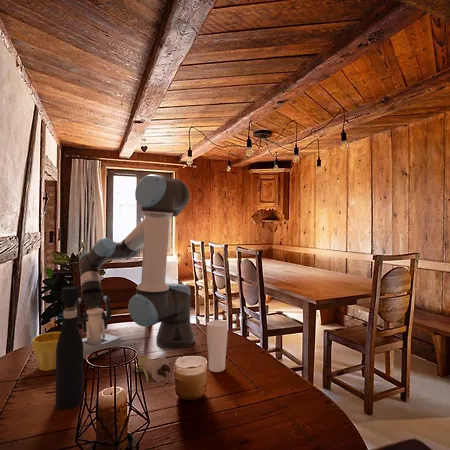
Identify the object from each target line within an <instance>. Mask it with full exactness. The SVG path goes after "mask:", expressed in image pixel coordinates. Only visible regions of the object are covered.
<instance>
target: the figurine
mask: <svg viewBox="0 0 450 450" xmlns="http://www.w3.org/2000/svg"><path fill="white" fill-rule="evenodd" d="M134 357H135V355H133V352H131V353H130V358H131V359H133V358H134ZM136 357H138V365H139V369H140V373H142V372H143V373H144V376H145V381H146V383H149V382H150V379H149V375H151V378H152V380H154V381H156V383H159V382H160V381H163V380H164V379H165V378H166V377H167V375H168V374H170V373H171V372H172V371H171V367H170V365H169V363H170V362H169V360H168V358H166V357H165V356H161V357H159V358H157V359H153V358H149V357H148V356H146V355H144V354H143V353H142V354H140V355H136ZM131 368H132V370H133V371H135V365H134V363H132V362H131ZM136 370H137V371H138V368H137V366H136ZM137 371H136V372H137Z"/></svg>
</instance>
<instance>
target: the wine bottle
mask: <svg viewBox="0 0 450 450" xmlns="http://www.w3.org/2000/svg"><path fill="white" fill-rule="evenodd" d="M79 289H80V288H79V286H76V285H75V286H72V285H70V286H65V287H62V288H61V291H62V292H61V295H62V296H61V302H64V310H63V312H62V313H63V315H62V319H61V331H60V332H61V333H60V336H59V338H58V342H57V347H56V369H55V408H56V409H59V410H63V411H65V410H70V409H74V408H76V407H78V406H80V405H81V404H82V403H81V399H82V395H83V396H84V359H83V341H82V339H83V336H82V334H81V332H80V328H79V324H78V316H77V309H76V300H78V298H79V293H80V291H79ZM80 403H81V404H80Z"/></svg>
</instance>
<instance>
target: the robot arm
mask: <svg viewBox="0 0 450 450" xmlns="http://www.w3.org/2000/svg"><path fill="white" fill-rule="evenodd" d="M190 194H191V193H190V190H189V187H188V185H187V184H186V183H185V182H184V181H183V180H181V179H178V178H173V177H168V176H165V175H161V174H148V175H145V176H143V177H142V178H141V180H139V181H138V183H137V186H136V188H135V193H134V196H135V200H136V201H137V204H138V205H139V206H141V210H140V212H141V213H142V215H144V218H143V220H142V221H141V222H140V223H139V224H137V226H136V227H135V228H134V229H133V230H132V231H131V232H130V233H129V234H127V236H126V237H125V238H124V239H122V241H119V242H117V241H116V242H115V241H114V240H112V239H111V238H108V237H102V238H99V240H98V241H97V242H96V243H95V244H94V246H93V247H92V248H91V249H90V251H85V252H84V253H81V254H80V256H79V259H78V267H79V277H80V289H81V291H80V293H81V294H80V297H78V300H76V307H75V309H77V316H78V325H81V326H82V332H83V333H85V334H86V338H87V341H89V339H90V333H89V322H88V320H87V319H88V314H87V310H89V309H90V307H95V308H102V309H103V313H102V339H105V334H106V330H107V329H108V321H110V320H111V318H112V310H111V301H110V300H111V297H112V296H111V295H110V294H109V295H104V293H103V292H102V284H101V283H102V280H101V274H100V273H101V272H100V269H101V267H102V266H103V265H104V264H105V263H106V262H107V261H115V260H125V259H128V260H129V259H133V258H136V257H137V256H138V255H139V253H140V248H141V247H142V248H143V249H142V261H141V262H142V265H141V280H140V283H139V284H137V286H136V290H135V291H136V293H135V294H134V295H133V296H132V297H131V298H130V299H129V301H128V306H127V307H128V313H129V316H130V317H131V319H132V320H133V322H134V323H135V324H136V325H138V326H139V327H150V326H154V325H157V324H158V323H159V328H158V331H157V335H156V337H155V338H156V339H155V340H156V341H155V343H156V344H157V346H159V347H162V348H169V349H179V348H185V347H188V346H191V345H192V344H194V342H195V333H194V331H193V327H192V324H191V295H192V294H191V288H190V286H189V285H188V284H187V285H186V284H182V283H181V284H179V283H166V274H167V260H168V259H167V257H168V242H169V241H168V240H169V228H170V227H169V225H170V220H171V219H172V218H173V217H174V218H175V217H178V216H179V214H181V213H182V212H183V211H184V210H185V209H186V207H187V205H188V204H189V202H190V196H191V195H190ZM102 301H104V303H105V310H106V312H105V311H104V308H103V306H102ZM81 302H82V303H83V304H84V305H85V307H84V313H83V318H82V316H81V306H80V305H81V304H82V303H81Z"/></svg>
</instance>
